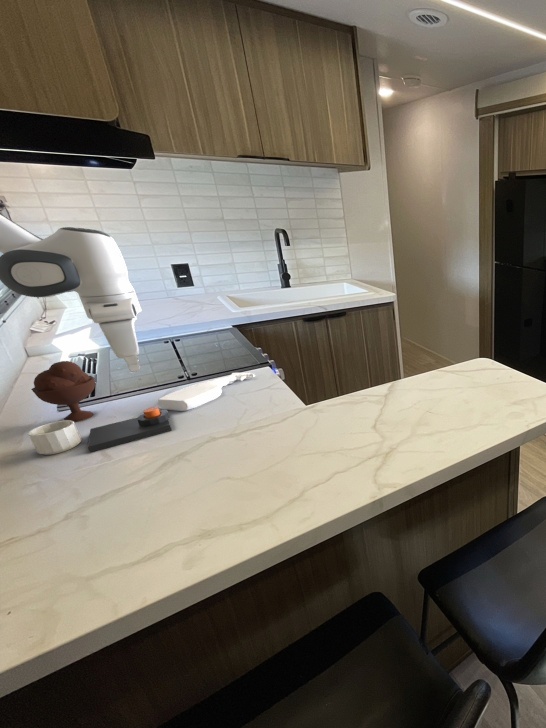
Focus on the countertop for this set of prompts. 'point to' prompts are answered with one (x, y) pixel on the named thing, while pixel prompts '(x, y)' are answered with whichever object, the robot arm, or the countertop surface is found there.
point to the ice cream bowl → (65, 388)
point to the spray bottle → (198, 393)
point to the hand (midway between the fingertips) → (135, 366)
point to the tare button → (151, 412)
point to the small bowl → (55, 437)
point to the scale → (128, 431)
